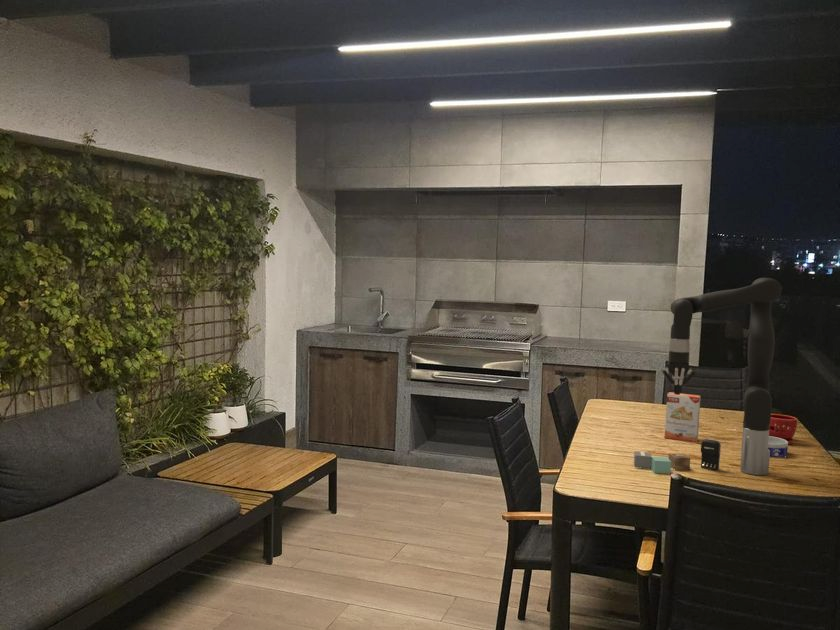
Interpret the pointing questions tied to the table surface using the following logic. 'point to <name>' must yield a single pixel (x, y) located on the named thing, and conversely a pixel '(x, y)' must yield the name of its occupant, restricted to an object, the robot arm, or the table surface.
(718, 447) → the battery
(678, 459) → the dot block
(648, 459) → the stripe block
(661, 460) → the plain block
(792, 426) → the plant pot
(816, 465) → the table surface
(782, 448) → the dog bowl
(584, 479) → the table surface
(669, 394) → the cracker box
